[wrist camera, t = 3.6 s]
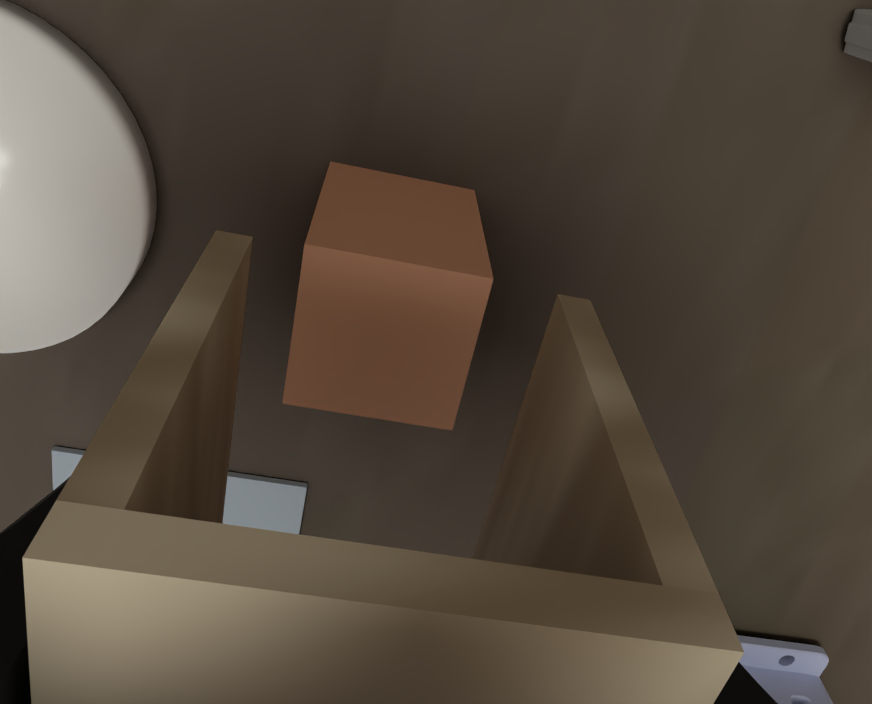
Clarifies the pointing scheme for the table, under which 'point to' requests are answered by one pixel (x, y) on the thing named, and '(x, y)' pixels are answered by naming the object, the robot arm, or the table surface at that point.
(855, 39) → the cassette
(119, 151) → the dish
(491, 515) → the beige open box
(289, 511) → the pad
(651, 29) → the table surface
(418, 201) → the block
